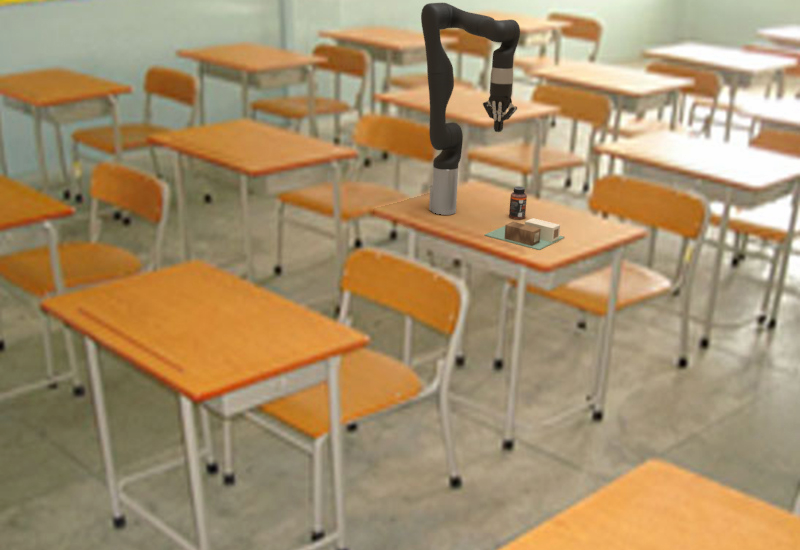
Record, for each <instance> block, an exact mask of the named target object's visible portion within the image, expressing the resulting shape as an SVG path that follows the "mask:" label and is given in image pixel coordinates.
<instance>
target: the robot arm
mask: <svg viewBox="0 0 800 550" xmlns="http://www.w3.org/2000/svg"><path fill="white" fill-rule="evenodd" d="M420 20H421V28H422V34H423V35H422V36H423V40H424V47H425V56H426V66H427V68H426V69H427V70H426V71H427V73H426V74H427V85H428V94H429V95H428V97H429V140H430V144H431V146H432V147H433V149H434V150H436V151H441V152H440V153H439V154H438V155H437V156H435V158H433V160H432V161H433V162H432V163H433V164H432V184H431V185H430V187H429V201H428V202H429V204H428V205H429V207H428V210H430V212H431V213H432V214H435V213H436V214H435V215H439V214H441V216H449V215H455V214H456V213H457V203H458V202H457V199H458V182H459V181H458V180H459V163H460V161H461V158H462V151H463V150H462V149H463V141H464V139H463V137H464V136H463V135H464V133H463V130H462V127H461V125H459V124H458V123H457V122H447V121H446V115H447V113H446V110H447V107H448V104H449V101H450V99H451V96H452V94H453V91H454V88H455V77H454V68H453V64H452V62H451V60H450V58H449V56H448V54H447V53H446V50H445V48H443V44H442V39H441V32H440V31H442V30H446V29H461V30H463V31H465V32H466V33H468V34H470V35H473V36H475V37H476V36H477V37H481V38H485V39H487V40H488V41H491V42H494V43H501V44H500V46H499V47H498V48H497V49H495V50H494V51H493V52H492V60H491V62H492V63H491V71H490V81H489V84H490V85H489V97H488V100H486V101H485V102H482V106H483V107H484V109H485V112H486V113H487V115H488V117H489V119H492V120H493V130H494V132H496V133H501V132H502V131H503V129H504V121H507V120H510V118H511V117H512V116H513V114H514V113H515V112H516V111H517V110H518V106H515V105H514V104H513V100H512V95H513V86H514V85H513V83H514V59H515V58H514V57H515V52H516V51H517V48H518V44H519V40H520V36H521V28H520V25H519V23H518V22H517V21H516V20H515V19H502V20H498V19H497V20H496V19H494V17H492V16H489V15H484V14H479V13H475V12H470V11H466V10H463V9H461V8H458V7H456V6H454V5H451V4H450V3H447V2H431V3H426V4H424V6H422V9H421V12H420Z"/></svg>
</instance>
